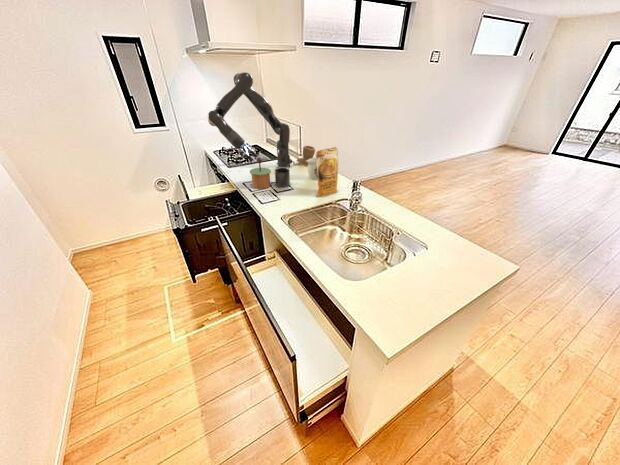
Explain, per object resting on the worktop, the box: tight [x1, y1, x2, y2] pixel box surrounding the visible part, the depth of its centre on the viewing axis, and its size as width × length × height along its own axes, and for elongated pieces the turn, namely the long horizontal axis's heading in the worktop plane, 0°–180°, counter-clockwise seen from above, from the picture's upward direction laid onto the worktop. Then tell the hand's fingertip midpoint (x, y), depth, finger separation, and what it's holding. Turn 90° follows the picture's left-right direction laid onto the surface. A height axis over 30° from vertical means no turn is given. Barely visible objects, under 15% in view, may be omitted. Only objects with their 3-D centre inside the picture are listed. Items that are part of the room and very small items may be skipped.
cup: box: [274, 167, 291, 188], centre depth 173 cm, size 10×10×10 cm
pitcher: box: [306, 157, 318, 181], centre depth 185 cm, size 11×18×14 cm, turn 124°
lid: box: [249, 157, 272, 175], centre depth 167 cm, size 14×14×10 cm
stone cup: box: [296, 145, 316, 167], centre depth 211 cm, size 15×12×15 cm
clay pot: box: [250, 172, 271, 190], centre depth 171 cm, size 12×12×10 cm
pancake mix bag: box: [315, 146, 339, 198], centre depth 158 cm, size 7×19×28 cm, turn 127°
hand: (254, 158), depth 165 cm, fingers open, 8 cm apart
